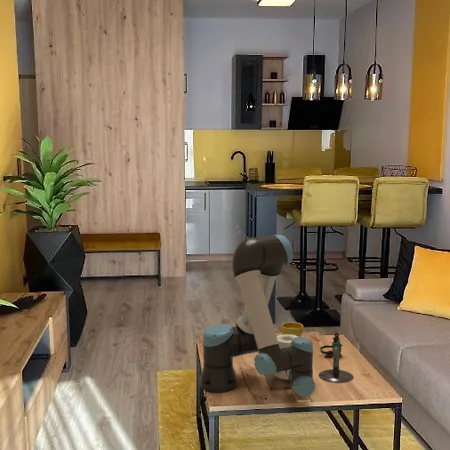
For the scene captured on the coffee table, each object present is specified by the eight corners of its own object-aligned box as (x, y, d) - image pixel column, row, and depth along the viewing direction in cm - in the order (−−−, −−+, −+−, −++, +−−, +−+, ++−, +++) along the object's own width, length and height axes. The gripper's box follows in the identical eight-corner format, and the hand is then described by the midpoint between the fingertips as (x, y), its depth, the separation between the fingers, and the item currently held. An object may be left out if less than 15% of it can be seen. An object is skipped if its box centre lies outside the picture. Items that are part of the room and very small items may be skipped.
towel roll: (277, 379, 232) (277, 343, 229) (273, 370, 241) (273, 334, 239) (302, 378, 232) (302, 342, 230) (297, 369, 242) (297, 334, 240)
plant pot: (307, 344, 279) (307, 324, 278) (294, 350, 271) (295, 330, 270) (289, 339, 286) (289, 320, 284) (276, 345, 278) (276, 325, 277)
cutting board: (270, 389, 229) (270, 386, 229) (264, 373, 245) (264, 370, 244) (311, 387, 230) (311, 384, 230) (302, 372, 246) (302, 369, 246)
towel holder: (323, 386, 232) (323, 354, 230) (315, 372, 245) (315, 342, 243) (358, 384, 233) (358, 353, 231) (347, 371, 246) (348, 341, 245)
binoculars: (320, 332, 267) (342, 332, 263) (322, 354, 268) (344, 354, 264) (317, 338, 258) (339, 338, 255) (319, 361, 259) (342, 362, 256)
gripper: (266, 382, 218) (258, 360, 240) (326, 379, 219) (312, 358, 241) (266, 362, 217) (258, 342, 239) (326, 360, 218) (312, 340, 240)
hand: (285, 350), depth 240 cm, fingers closed on towel roll, 10 cm apart
